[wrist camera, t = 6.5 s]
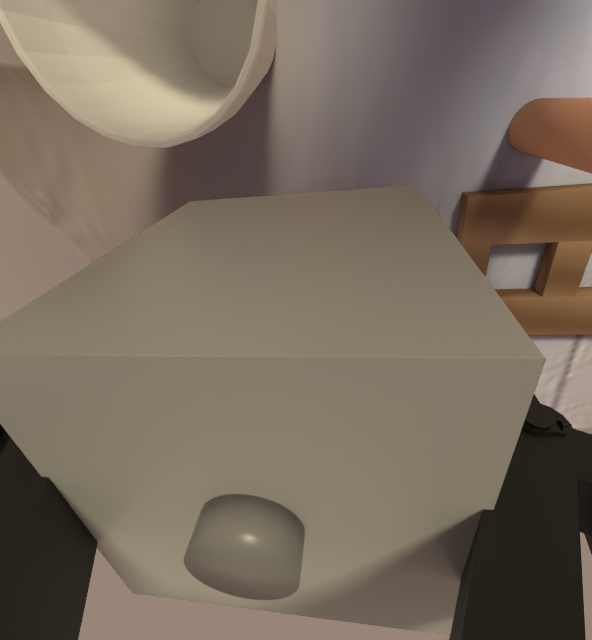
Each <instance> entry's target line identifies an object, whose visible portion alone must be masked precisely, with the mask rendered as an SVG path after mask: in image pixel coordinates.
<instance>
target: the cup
mask: <svg viewBox="0 0 592 640" xmlns="http://www.w3.org/2000/svg"><path fill="white" fill-rule="evenodd" d="M0 23H1V25H2V26H3V28H4V30H5V32H6V34H7V36H8V38H9V40H10V41H11V43H12V45H13V47H14V49H15V51H16V53H17V55H18V56H19V57H20V59H21V60H22V61H23V63H24V64H25V65H26V67H27V68H28V69H29V70H30V72H31V73H32V74H33V76H34V77H35V78H36V80H37V81H38V82H39V84H40V85H41V86H42V88H43V89H44V90H45V91H46V92H47V93H48V94H49V95H50V96H51V97H52V98H53V99H54V100H55V101H56V102H57V103H59V104H60V105H61V106H62V107H63V108H64V109H65V110H66V111H67V112H68V113H69V114H70V115H71V116H73V117H74V118H75V119H76V120H78V121H79V122H81V123H83V124H84V125H86V126H88V127H89V128H91V129H93V130H94V131H96V132H97V133H99V134H101V135H102V136H104V137H106V138H109V139H112V140H115V141H118V142H121V143H125V144H128V145H131V146H134V147H141V148H169V147H172V146H175V145H179V144H182V143H185V142H188V141H191V140H195V139H197V138H199V137H201V136H203V135H205V134H207V133H209V132H211V131H213V130H215V129H216V128H217V127H219V126H220V125H222V124H223V123H224V122H226V121H227V120H228V119H230V118H231V117H233V116H234V115H235V114H236V113H237V112H238V111H239V110H240V108H241V107H242V106H243V105H244V103H245V102H246V101H247V99H248V98H249V97H250V95H251V94H252V93H253V91H254V90H255V89H256V88H257V86H258V85H259V84H260V82H261V81H262V79H263V78H264V77H265V75H266V74H267V73H268V71H269V68H270V66H271V64H272V61H273V58H274V53H275V47H276V10H275V0H0Z"/></svg>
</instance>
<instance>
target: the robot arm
mask: <svg viewBox="0 0 592 640" xmlns="http://www.w3.org/2000/svg"><path fill="white" fill-rule="evenodd" d="M580 532H582V533H584V534H585V537H586V540H587V542H588V545H589V548H590V551H591V554H592V434H588V433H585V432H582V431H579V430H576V429H573V428H572V425H571V424H570V423H569V422H568V421H567V419H566V418H565V417H564V416H563V415H562V414H560V413H558V412H557V411H555V410H554V409H552V408H551V407H548V406H546V405H543V404H540V403H539V401H538V399H537V398H536V396H535V395H533V398H532V401H531V404H530V406H529V409H528V412H527V415H526V418H525V421H524V424H523V427H522V429H521V432H520V435H519V438H518V441H517V444H516V447H515V450H514V452H513V455H512V458H511V461H510V464H509V467H508V470H507V473H506V476H505V478H504V481H503V484H502V487H501V490H500V493H499V496H498V499H497V501H496V504H495V507H494V510H487V509H483V511H482V514H481V517H480V520H479V524H478V527H477V530H476V533H475V536H474V540H473V543H472V546H471V549H470V552H469V556H468V559H467V562H466V565H465V568H464V571H463V575H462V578H461V581H460V586H459V592H458V597H457V602H456V608H455V613H454V618H453V623H452V629H451V634H450V639H449V640H585V623H584V603H583V585H582V565H581V546H580ZM97 543H98V542H97V540H96V539H95V538H94V536H93V535H92V534H91V533H90V531H89V530H88V529H87V527H86V526H85V525H84V523H83V522H82V521H81V519H80V518H79V517H78V515H77V514H76V513H75V512H74V510H73V509H72V508H71V506H70V505H69V504H68V502H67V501H66V500H65V498H64V497H63V496H62V494H61V493H60V492H59V491H58V489H57V488H56V487H55V485H54V484H53V483H52V481H51V480H50V479H49V477H41V475H40V474H39V473H38V471H37V470H36V469H35V468H34V466H33V465H32V464H31V463H30V461H29V460H28V459H27V457H26V456H25V455H24V454H23V452H22V451H21V450H20V448H19V447H18V446H17V445H16V443H15V442H14V441H13V439H12V438H11V437H10V436H9V434H8V433H7V432H6V431H5V429H4V428H3V427H2V425H1V424H0V640H78V637H79V632H80V627H81V622H82V617H83V612H84V607H85V602H86V597H87V593H88V588H89V583H90V577H91V573H92V568H93V563H94V558H95V553H96V548H97Z"/></svg>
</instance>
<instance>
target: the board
mask: <svg viewBox="0 0 592 640" xmlns="http://www.w3.org/2000/svg"><path fill="white" fill-rule="evenodd" d="M456 238H457V239H458V241H459V242H460V244H461V245H462V246H463V248H464V249H465V250H466V252H467V253H468V254H469V256H470V257H471V258H472V260H473V261H474V263H475V264H476V265H477V267H478V268H479V269H480V271H481V272H482V273H483V275H484V276H486V271H487V266H488V261H489V256H490V251H491V245H504V244H527V243H547V245H546V249H545V252H544V256H543V259H542V263H541V266H540V270H539V273H538V277H537V280H536V284H535V287H534V289H500V290H495V291H496V292H497V294H498V295H499V296H500V298H501V299H502V300H503V302H504V303H505V305H506V306H507V307H508V309H509V310H510V311H511V313H512V314H513V315H514V317H515V318H516V319H517V321H518V322H519V324H520V325H521V326H522V328H523V329H524V330H525V332H526V333H527V334H528V335H592V287H582V288H579V285H580V282H581V280H582V277H583V274H584V271H585V268H586V265H587V263H588V260H589V257H590V254H591V251H592V184H577V185H563V186H548V187H534V188H519V189H505V190H490V191H476V192H463V195H462V202H461V209H460V216H459V223H458V230H457V237H456Z"/></svg>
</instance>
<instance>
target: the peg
mask: <svg viewBox="0 0 592 640" xmlns="http://www.w3.org/2000/svg"><path fill="white" fill-rule="evenodd" d="M508 136H509V141H510V143H511V145H512V146H513V147H514V148H515V149H516V150H518V151H520V152H523V153H527V154H530V155H533V156H536V157H540V158H543V159H546V160H549V161H553V162H556V163H559V164H563V165H566V166H569V167H572V168H576V169H579V170H582V171H585V172H589V173H592V98H544V99H536V100H533V101H531V102H529V103H527V104H526V105H524V106H523V107H522V108H521V109H520V110H519V111H518V112H517V113H516V114H515V116H514V117H513V119H512V121H511V123H510V126H509V132H508Z"/></svg>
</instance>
